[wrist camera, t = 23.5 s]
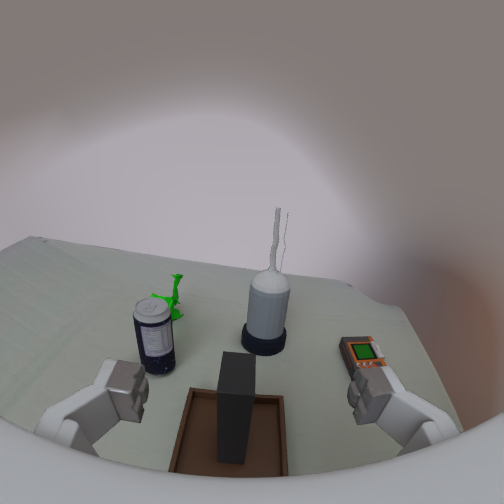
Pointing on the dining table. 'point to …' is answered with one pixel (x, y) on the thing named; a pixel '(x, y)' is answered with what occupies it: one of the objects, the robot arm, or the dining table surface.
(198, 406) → the tray
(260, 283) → the humidifier
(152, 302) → the beverage can
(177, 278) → the figurine
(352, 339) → the electronic device
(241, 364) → the tall dark grey prism
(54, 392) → the dining table surface
